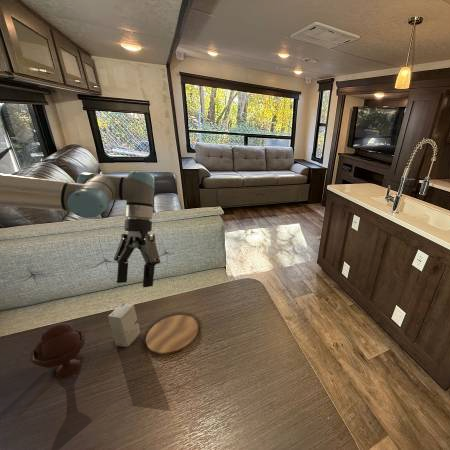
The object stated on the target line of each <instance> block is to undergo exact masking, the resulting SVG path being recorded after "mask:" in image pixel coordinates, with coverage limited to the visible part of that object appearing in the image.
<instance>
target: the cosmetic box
mask: <svg viewBox="0 0 450 450" xmlns="http://www.w3.org/2000/svg"><path fill="white" fill-rule="evenodd" d="M107 319H108V322H109V325H110V329H111V333H112V337H113V340H114V343H115V346H118V347H125V348H128V347H130V346H131V344H132V343H133V342H134V341H135V340H136V339H137V338H138V337H139V336H140V334H141V329H140V325H139V322H138V317H137V311H136V308H135V305H134V304H130V303H121V304H120V305H119V306H118V307H116V308H115V309H114V310H113V311H112V312H111V313H110V314H109V315H107Z"/></svg>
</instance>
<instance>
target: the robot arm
mask: <svg viewBox="0 0 450 450" xmlns="http://www.w3.org/2000/svg"><path fill="white" fill-rule="evenodd" d="M155 180H156V179H155V177H154V175H153V174H151V173H147V172H145V171H139V170H137V171H136V170H134V171H133V170H132V171H129V172H128V175H127V176H118V175H111V174H110V175H109V174H102V173H97V172H81V173H79V174H78V177H77V179H76V182H68V181H63V180H56V179H55V180H53V179H46V178H40V177H39V178H37V177H30V176H21V175H14V174H5V173H0V206H2V207H3V206H4V207H15V208H27V209H28V208H29V209H39V210H53V211H54V210H55V211H66V212H71V213H72V214H73V215H76V217H79V218H83V219H92V218H97V217H98V216H100V215H102V213H103V212H105V211H106V210H107V209H108V208H109V205H110V203H111V202H112V200H113V201H126V202H125V203H126V204H125V214H124V217H125V218H126V219H125V220H124V226H123V227H124V228H123V229H124V231H126V232H128V233H121V237H120V241H119V244H118V246H117V249H116V252H115V255H114V257H113V261H115V262H116V263H117V275H116V284H122V283H128V273H129V272H128V271H129V259H130V257H131V255H132V253H133V252H134V251H135V249H138V250H139V251H140V254H141V256H142V258H143V261H144V263H145V264H144V266H143V278H142V288H149V287H154V277H155V269H156V268H155V266H156V265H159V264H160V263H161V258H160V255H159V251H158V248H157V243H156V235H155V233H154V234H153V233H150V232H152V229H153V221H152V219H153V214H154V213H153V211H154V210H153V209H154V200H155Z"/></svg>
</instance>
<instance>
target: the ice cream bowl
mask: <svg viewBox="0 0 450 450" xmlns="http://www.w3.org/2000/svg"><path fill="white" fill-rule="evenodd" d="M85 344H86V339H85V334H84V331H83V330H79V329H74V328H73V326H72V324H70V323H69V322H57V323H54V324H52V325H49V327H47V328H46V329H44V332H43V333H42V334H41V336H40V339H39V341H37V342H36V344H35V346H34V347H33V348H32V350H31V351H30V363H32V364H34V365H36V366H38V367H39V366H40V367H43V368H47V369H49V368H54V367H57V368H56V369H55V377H56V378H59V379H63V378H66V377H70V376H71V375H73V374H75V373H76V372H78V370H79V369H80V367H81V365H82V364H81V363H82V362H81V361H80V360H79V359H75V358H76V357H77V356H78V355H79V354H80V352H81V351H82V349H83V348H84V346H85Z"/></svg>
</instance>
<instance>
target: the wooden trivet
mask: <svg viewBox="0 0 450 450" xmlns="http://www.w3.org/2000/svg"><path fill="white" fill-rule="evenodd" d="M198 333H199V324H198V321H197V320H196V319H195V318H193V317H192V316H189V315H186V314H185V315H183V314H179V315H172V316H168V317H166V318H163V319H161V320H159V321H158V322H157V323H155V324H154V325H153V326H152V327H151V328H150V329H149V330H148V333H147V334H146V337H145V343H146V347H147V349H148V350H149V351H150V352H151V353H153V354H155V355H170V354H171V355H172V354H174V353H178V352H180V351H182V350H184V349H185V348H187V347H189V345H191V344H192V343H193V341H195V339H196V338H197V336H198V335H199V334H198Z"/></svg>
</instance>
